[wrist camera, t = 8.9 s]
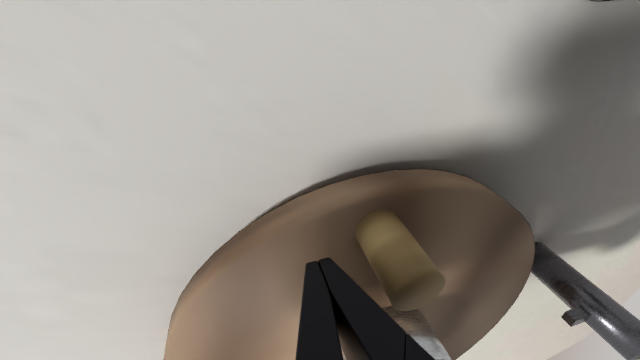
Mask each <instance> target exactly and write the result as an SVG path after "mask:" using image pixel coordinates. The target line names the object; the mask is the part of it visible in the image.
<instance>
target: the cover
mask: <svg viewBox="0 0 640 360" xmlns="http://www.w3.org/2000/svg"><path fill="white" fill-rule="evenodd" d="M382 309H383V310H384V311H385V312H386V313H387V314H388V315H389V316H390V317H391V318H392V319H393V320H394V321H395V322H397V323H398V324H399V325H400V326H401V327H402V328H403V329H404V330H405V331H406V334H409V335H410V336H411V337H412V338H413V339H414V340H415V341H416V342H417V343H418V344H419V345H420V346H421V347H422V348H423V349H425V350H426V351H427V352H428V353H429V354H430V355H431V356H432V357H433V358H434V359H435V360H451V358H450V356H449V355H448V353H447V351H446V350H445V348H444V347H443V345H442V343H441V342H440V340H439V338H438V337H437V335H436V334H435V332H434V330H433V329H432V327H431V326H430V324H429V322H428V321H427V319H426V317H425V316H424V314H423V313H422V312H421V311H420V310H419V309H415V310H411V311H398V310H396V309H394V308H393V306H390V307H384V308H382ZM341 350H342V347H341ZM342 355H343V360H346V357H345V355H344V352H343V350H342Z"/></svg>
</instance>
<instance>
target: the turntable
mask: <svg viewBox="0 0 640 360" xmlns="http://www.w3.org/2000/svg"><path fill="white" fill-rule="evenodd" d="M534 253H535V244H534V236H533V233H532V230H531V227H530V225H529V223H528V222H527V220H526V219H525V218H524V216H523V215H522V214H521V213H520V212H519V211H518V210H517V209H515V208H514V207H513V206H511V205H510V204H509V203H508V202H506V201H505V200H504V199H502V198H501V197H500V196H498V195H497V194H496V193H494V192H493V191H492V190H490V189H489V188H488V187H486V186H485V185H483V184H481V183H479V182H477V181H475V180H473V179H471V178H469V177H466V176H462V175H458V174H454V173H451V172H447V171H437V170H426V169H411V170H392V171H386V172H380V173H374V174H368V175H362V176H358V177H355V178H351V179H348V180H344V181H340V182H337V183H333V184H330V185H327V186H325V187H322V188H320V189H317V190H315V191H312V192H310V193H307V194H305V195H302V196H300V197H297V198H295V199H293V200H291V201H290V202H288V203H286V204H284V205H282V206H280V207H278V208H276V209H274V210H272V211H270V212H269V213H267V214H265V215H264V216H262V217H261V218H259V219H258V220H256V221H255V222H253V223H252V224H250V225H249V226H247V227H246V228H244V229H243V230H241V231H240V232H238V233H237V234H236V235H235V236H233V237H232V238H231V239H230V240H229V241H227V242H226V243H225V244H224V245H223V246H222V247H220V248H219V249H218V250H217V251H216V252H214V253H213V255H212V256H211V257H210V258H209V259H208V260H207V261H206V262H205V263H204V264H203V265H202V267H201V268H200V269H199V270H198V271H197V272H196V273H195V274H194V276H193V277H192V279H191V280H190V282H189V283H188V285H187V286H186V288H185V289H184V291H183V292H182V294H181V295H180V298H179V300H178V302H177V304H176V306H175V309H174V311H173V313H172V316H171V321H170V326H169V330H168V336H167V342H166V348H165V354H164V360H295V358H296V349H297V340H298V330H299V321H300V312H301V303H302V293H303V284H304V275H305V266H306V263H308V262H312V261H318V260H320V259H323V258H327V257H329V258H331V259H332V260H333V261H334V262H335V263H336V264H337V265H338V266H339V267H340V268H341V269H342V270H343V271H344V272H346V273H347V274H348V275H349V276H350V277H351V278H352V279H353V280H354V281H355V282H356V283H357V284H358V285H359V286H360V287H361V288H362V289H363V290H364V291H365V292H366V293H367V294H368V295H369V296H370V297H371V298H372V299H373V300H374V301H375V302H376V303H377V304H378V305H379V306H380V307H381V308H384V307H390V306H393V308H394V309H396V310H398V311H411V310H415V309H419V310H420V311H421V312H422V313H423V314H424V316H425V317H426V319H427V321H428V322H429V324H430V326H431V327H432V329H433V330H434V332H435V334H436V335H437V337H438V338H439V340H440V342H441V343H442V345H443V347H444V348H445V350H446V351H447V353H448V355H449V356H450V358H451V360H456V359H457V358H458V357H460V356H461V355H462V354H463V353H465V352H466V351H467V350H469V349H470V348H471V347H472V346H473V345H475V344H476V343H477V342H478V341H479V340H480V339H482V338H483V337H484V336H485V335H486V334H487V333H488V332H489V331H490V330H491V329H492V328H493V327H494V326H495V325H496V324H497V323H498V322H499V321H500V319H501V318H502V317H503V316H504V315H505V314H506V313H507V311H508V310H509V309H510V307H511V306H512V305H513V303H514V302H515V301H516V299H517V297H518V296H519V294H520V293H521V291H522V289H523V287H524V285H525V283H526V281H527V279H528V277H529V274H530V271H531V268H532V265H533V260H534Z"/></svg>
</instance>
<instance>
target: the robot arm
mask: <svg viewBox="0 0 640 360" xmlns="http://www.w3.org/2000/svg"><path fill="white" fill-rule="evenodd" d="M592 1H609V0H592ZM341 347H342V350H343V352H344V355H345V357H346V360H435V359H434V358H433V357H432V356H431V355H430V354H429V353H428V352H427V351H426V350H425V349H423V348H422V347H421V346H420V345H419V344H418V343H417V342H416V341H415V340H414V339H413V338H412V337H411V336H410V335H409V334H406V331H405V330H404V329H403V328H402V327H401V326H400V325H399V324H398V323H397V322H395V321H394V320H393V319H392V318H391V317H390V316H389V315H388V314H387V313H386V312H385V311H384V310H383V309H382V308H381V307H380V306H379V305H378V304H377V303H376V302H375V301H374V300H373V299H372V298H371V297H370V296H369V295H368V294H367V293H366V292H365V291H364V290H363V289H362V288H361V287H360V286H359V285H358V284H357V283H356V282H355V281H354V280H353V279H352V278H351V277H350V276H349V275H348V274H347V273H346V272H344V271H343V270H342V269H341V268H340V267H339V266H338V265H337V264H336V263H335V262H334V261H333V260H332V259H331V258H329V257H327V258H323V259H320V260H318V261H312V262H308V263H306V266H305V275H304V284H303V293H302V303H301V312H300V321H299V330H298V340H297V349H296V358H295V360H343V355H342V350H341Z"/></svg>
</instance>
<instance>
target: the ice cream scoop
mask: <svg viewBox="0 0 640 360" xmlns="http://www.w3.org/2000/svg"><path fill="white" fill-rule="evenodd" d="M530 272H531V273H532V274H534V275H535V276H536V277H537V278H538V279H539V280H540V281H541V282H542V283H543V284H544V285H546V286H547V287H548V288H549V289H550V290H551V291H552V292H553V293H554V294H555V295H556V296H558V297H559V298H560V299H561V300H562V301H563V302H564V303H565V304H566V305H567V306H568V307H570V308H571V310H569V311H566V312H565V313H564V314H563V316H562V318H563V319H564V320H565V321H566V322H567V323H568V324H569V325H570V326H571V327H572V326H574V325H577V324H580V323H582V322H586V323H587V324H588V325H589V326H590V327H591V328H592V329H594V330H595V331H596V332H597V333H598V334H599V335H600V336H601V337H602V338H603V339H604V340H606V341H607V342H608V343H609V344H610V345H611V346H612V347H613V348H614V349H615V350H617V351H618V352H619V353H620V354H621V355H622V356H623V357H624V358H625V359H627V360H640V320H638V319H637V318H636V317H635V316H633V315H632V314H631V313H630V312H628V311H627V310H626V309H624V308H623V307H622V306H621V305H620V304H618V303H617V302H616V301H615V300H613V299H612V298H611V297H609V296H608V295H607V294H606V293H604V292H603V291H602V290H601V289H599V288H598V287H597V286H596V285H594V284H593V283H592V282H591V281H589V280H588V279H587V278H586V277H584V276H583V275H582V274H580V273H579V272H578V271H577V270H575V269H574V268H573V267H572V266H570V265H569V264H568V263H567V262H565V261H564V260H563V259H562V258H560V257H559V256H558V255H556V254H555V253H554V252H553V251H551V250H550V249H549V248H548V247H546V246H545V245H544V244H543V243H535V253H534V260H533V265H532V268H531V271H530Z"/></svg>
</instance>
